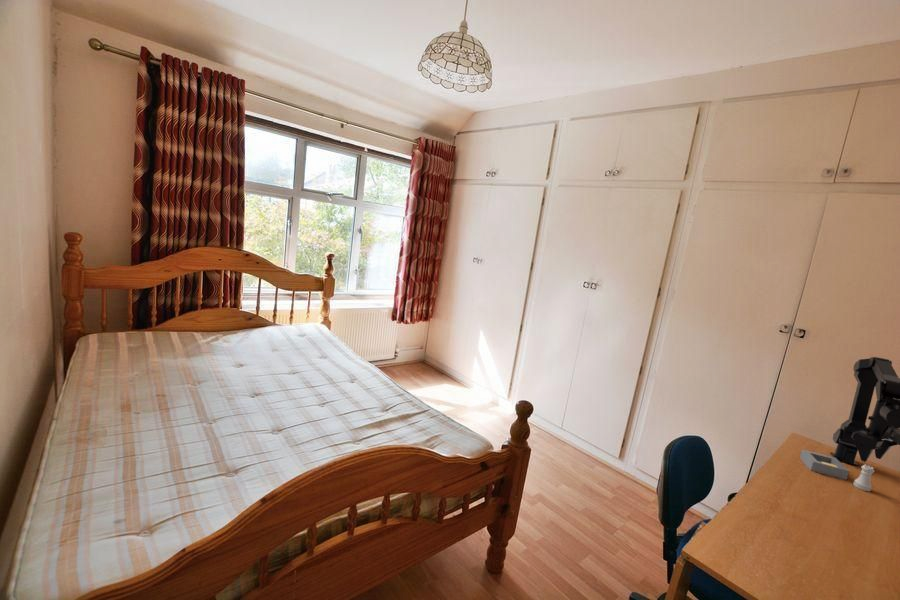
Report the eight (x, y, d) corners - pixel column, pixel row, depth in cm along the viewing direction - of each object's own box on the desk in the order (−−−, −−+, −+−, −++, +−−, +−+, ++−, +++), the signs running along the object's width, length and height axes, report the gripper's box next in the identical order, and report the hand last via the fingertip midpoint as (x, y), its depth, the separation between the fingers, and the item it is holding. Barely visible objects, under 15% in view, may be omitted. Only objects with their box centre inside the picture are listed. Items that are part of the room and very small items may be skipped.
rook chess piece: (850, 484, 137) (856, 463, 136) (856, 482, 139) (862, 461, 138) (867, 493, 134) (874, 471, 132) (873, 490, 135) (880, 469, 134)
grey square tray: (799, 457, 153) (802, 448, 153) (832, 466, 149) (835, 457, 149) (810, 470, 144) (813, 461, 144) (846, 480, 140) (849, 470, 140)
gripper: (904, 431, 121) (888, 477, 124) (934, 427, 128) (918, 470, 131) (857, 414, 131) (843, 457, 134) (887, 411, 138) (873, 452, 141)
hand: (870, 459), depth 135 cm, fingers open, 9 cm apart
